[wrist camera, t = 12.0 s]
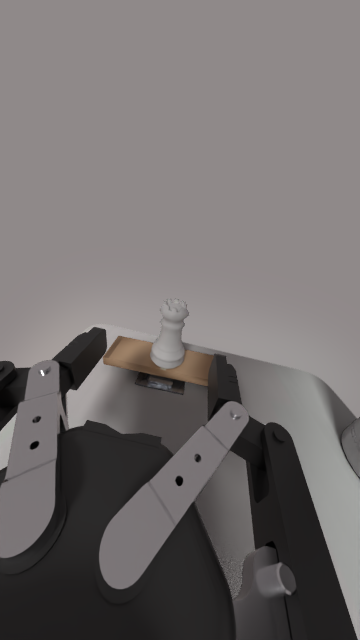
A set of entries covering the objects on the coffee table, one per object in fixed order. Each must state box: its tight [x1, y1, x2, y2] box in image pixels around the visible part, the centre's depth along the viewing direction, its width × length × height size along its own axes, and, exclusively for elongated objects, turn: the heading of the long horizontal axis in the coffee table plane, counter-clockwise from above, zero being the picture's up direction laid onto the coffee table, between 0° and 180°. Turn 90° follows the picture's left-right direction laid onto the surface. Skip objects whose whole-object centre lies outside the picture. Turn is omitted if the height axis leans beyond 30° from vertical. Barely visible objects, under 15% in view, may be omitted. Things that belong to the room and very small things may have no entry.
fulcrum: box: [135, 372, 185, 395], centre depth 24 cm, size 6×7×1 cm
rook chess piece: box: [150, 299, 189, 369], centre depth 21 cm, size 4×4×8 cm
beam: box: [103, 336, 214, 386], centre depth 24 cm, size 15×4×1 cm, turn 82°
